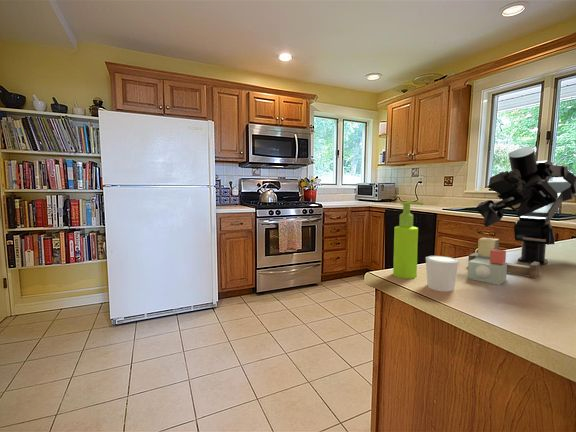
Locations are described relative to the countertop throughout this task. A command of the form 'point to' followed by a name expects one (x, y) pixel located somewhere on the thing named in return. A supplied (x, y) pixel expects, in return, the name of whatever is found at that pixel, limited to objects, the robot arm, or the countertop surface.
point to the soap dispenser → (405, 244)
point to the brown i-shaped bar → (519, 268)
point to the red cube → (497, 256)
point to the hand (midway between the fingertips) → (500, 220)
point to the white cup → (441, 272)
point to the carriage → (486, 247)
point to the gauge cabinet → (487, 271)
